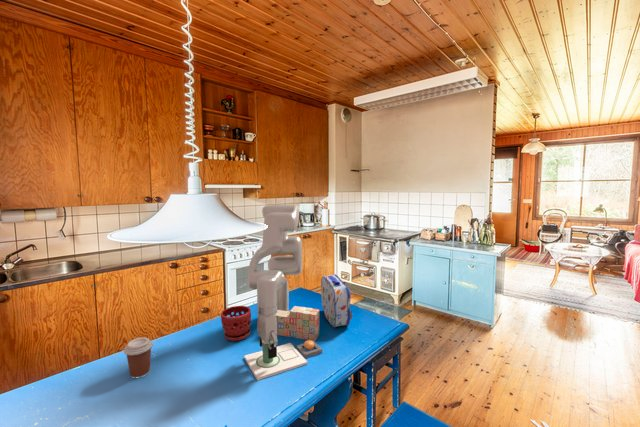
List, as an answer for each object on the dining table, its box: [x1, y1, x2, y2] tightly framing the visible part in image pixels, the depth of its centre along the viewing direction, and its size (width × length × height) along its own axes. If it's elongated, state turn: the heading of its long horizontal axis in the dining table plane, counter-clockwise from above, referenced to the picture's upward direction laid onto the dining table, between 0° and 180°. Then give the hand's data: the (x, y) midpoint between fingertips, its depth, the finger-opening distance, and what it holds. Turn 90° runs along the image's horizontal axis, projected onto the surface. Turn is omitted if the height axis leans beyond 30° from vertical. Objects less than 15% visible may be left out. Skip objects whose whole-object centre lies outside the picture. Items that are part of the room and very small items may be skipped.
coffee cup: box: [123, 336, 154, 378], centre depth 113 cm, size 9×9×12 cm
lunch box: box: [320, 274, 353, 328], centre depth 158 cm, size 28×10×22 cm, turn 15°
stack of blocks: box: [276, 305, 320, 342], centre depth 143 cm, size 21×6×12 cm, turn 73°
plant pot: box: [220, 305, 252, 342], centre depth 141 cm, size 13×13×12 cm
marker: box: [261, 338, 273, 363], centre depth 120 cm, size 4×4×10 cm
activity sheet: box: [243, 342, 308, 381], centre depth 122 cm, size 16×20×1 cm
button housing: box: [295, 341, 323, 359], centre depth 129 cm, size 8×8×2 cm
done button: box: [303, 340, 315, 351], centre depth 129 cm, size 4×4×2 cm
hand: (267, 351), depth 120 cm, fingers open, 9 cm apart
